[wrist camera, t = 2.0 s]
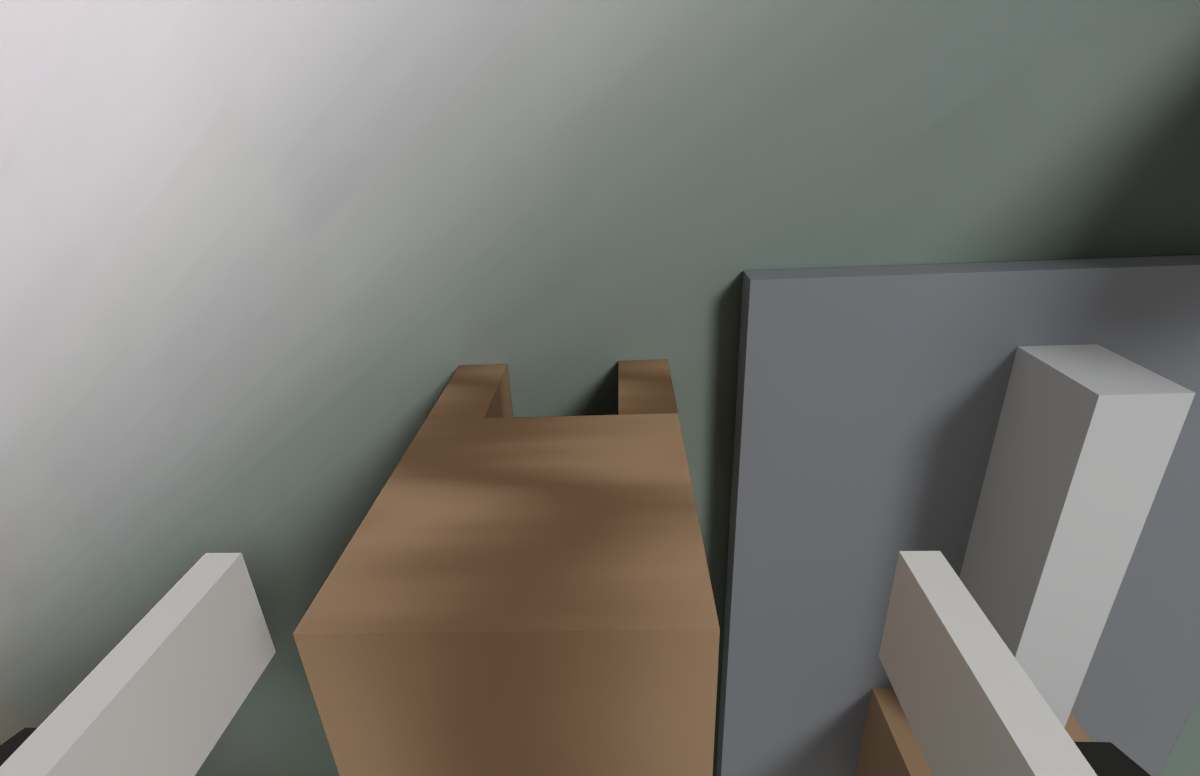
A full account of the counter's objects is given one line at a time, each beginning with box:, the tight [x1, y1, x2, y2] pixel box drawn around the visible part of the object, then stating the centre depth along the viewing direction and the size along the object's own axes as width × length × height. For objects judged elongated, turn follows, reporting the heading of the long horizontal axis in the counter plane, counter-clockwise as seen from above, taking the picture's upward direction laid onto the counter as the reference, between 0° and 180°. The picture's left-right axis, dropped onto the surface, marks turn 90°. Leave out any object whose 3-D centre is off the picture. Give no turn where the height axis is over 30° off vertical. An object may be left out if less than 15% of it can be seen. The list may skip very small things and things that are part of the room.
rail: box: [716, 255, 1200, 776], centre depth 16 cm, size 16×22×11 cm
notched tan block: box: [293, 360, 720, 776], centre depth 14 cm, size 6×6×10 cm
